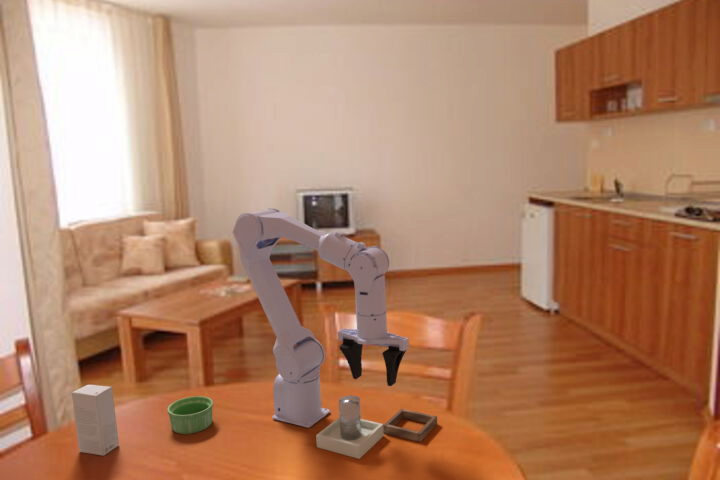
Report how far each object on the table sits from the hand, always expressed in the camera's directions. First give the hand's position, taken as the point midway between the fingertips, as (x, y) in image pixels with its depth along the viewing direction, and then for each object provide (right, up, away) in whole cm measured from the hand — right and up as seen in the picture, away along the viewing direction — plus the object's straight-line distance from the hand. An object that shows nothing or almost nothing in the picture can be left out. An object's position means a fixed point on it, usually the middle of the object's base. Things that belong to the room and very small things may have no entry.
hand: (374, 380), depth 108 cm
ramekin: (-37, -11, +8) cm, 40 cm away
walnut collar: (+7, -10, +2) cm, 12 cm away
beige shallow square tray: (-4, -11, -2) cm, 12 cm away
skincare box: (-53, -13, 0) cm, 54 cm away
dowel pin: (-4, -10, -2) cm, 11 cm away
